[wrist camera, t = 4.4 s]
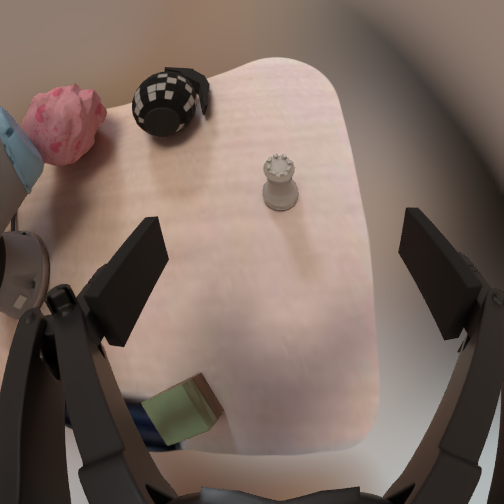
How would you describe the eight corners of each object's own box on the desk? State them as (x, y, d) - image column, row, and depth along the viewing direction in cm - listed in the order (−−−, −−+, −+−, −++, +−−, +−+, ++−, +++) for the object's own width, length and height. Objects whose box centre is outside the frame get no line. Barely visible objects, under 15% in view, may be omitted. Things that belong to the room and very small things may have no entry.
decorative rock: (31, 74, 31) (107, 65, 39) (33, 140, 41) (101, 130, 49) (6, 110, 22) (114, 95, 30) (20, 198, 32) (109, 183, 40)
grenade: (204, 150, 40) (203, 95, 47) (217, 98, 32) (213, 52, 39) (128, 148, 37) (141, 93, 43) (126, 94, 29) (144, 48, 35)
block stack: (165, 389, 32) (140, 403, 26) (201, 372, 33) (181, 384, 26) (187, 425, 31) (167, 446, 24) (224, 410, 31) (210, 430, 24)
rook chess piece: (262, 180, 37) (255, 147, 29) (296, 178, 37) (298, 144, 29) (263, 212, 36) (257, 184, 28) (299, 210, 36) (303, 182, 28)
